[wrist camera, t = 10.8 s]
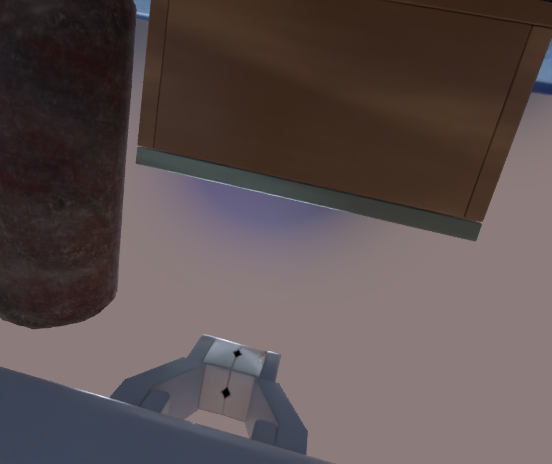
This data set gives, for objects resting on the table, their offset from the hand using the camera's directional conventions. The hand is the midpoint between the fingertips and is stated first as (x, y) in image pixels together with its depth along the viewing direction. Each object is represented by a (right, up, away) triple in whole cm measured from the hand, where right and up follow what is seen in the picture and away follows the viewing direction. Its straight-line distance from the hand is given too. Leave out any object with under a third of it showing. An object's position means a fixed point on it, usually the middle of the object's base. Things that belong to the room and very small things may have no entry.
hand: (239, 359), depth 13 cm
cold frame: (+5, +16, +5) cm, 17 cm away
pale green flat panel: (+3, +8, +7) cm, 11 cm away
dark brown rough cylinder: (-10, +19, +5) cm, 22 cm away
